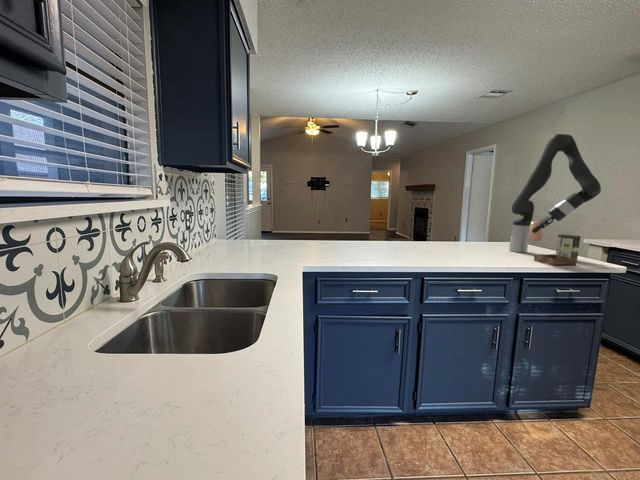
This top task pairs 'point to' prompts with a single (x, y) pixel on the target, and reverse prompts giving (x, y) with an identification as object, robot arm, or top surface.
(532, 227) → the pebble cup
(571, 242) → the coffee can
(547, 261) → the walnut tray
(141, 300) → the top surface
